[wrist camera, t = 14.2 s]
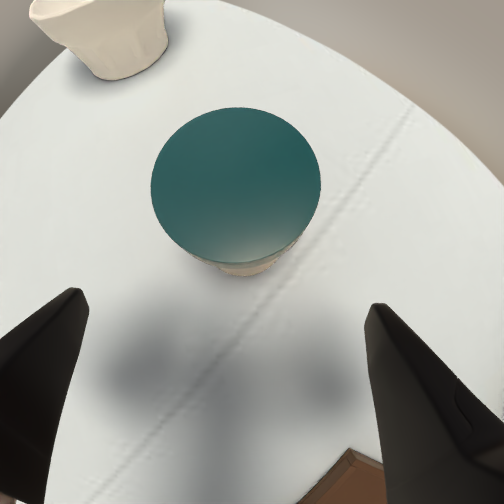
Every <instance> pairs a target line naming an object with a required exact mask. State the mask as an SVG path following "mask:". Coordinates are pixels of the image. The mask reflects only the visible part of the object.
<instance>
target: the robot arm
mask: <svg viewBox="0 0 504 504" xmlns="http://www.w3.org/2000/svg"><path fill="white" fill-rule="evenodd" d="M88 316H89V306H88V303H87V301H86V298H85V296H84V294H83V291H82V290H81V289H80V288H73V287H71V288H68V289H67V290H65V291H64V292H62V293H61V294H60V295H58V296H57V297H55V298H54V299H53V300H51V301H50V302H48V303H47V304H46V305H44V306H43V307H42V308H40V309H39V310H38V311H36V312H35V313H33V314H32V315H31V316H29V317H28V318H27V319H25V320H24V321H23V322H21V323H20V324H19V325H18V326H16V327H15V328H14V329H12V330H11V331H10V332H8V333H7V334H6V335H5V336H3V337H2V338H1V339H0V504H16V500H19V501H22V502H24V503H26V504H44V498H45V491H46V485H47V479H48V473H49V468H50V462H51V457H52V452H53V447H54V442H55V438H56V434H57V429H58V425H59V421H60V417H61V413H62V410H63V406H64V402H65V399H66V395H67V392H68V388H69V385H70V381H71V378H72V375H73V372H74V368H75V365H76V362H77V359H78V356H79V352H80V349H81V344H82V340H83V336H84V332H85V328H86V324H87V320H88ZM364 331H365V341H366V351H367V363H368V373H369V379H370V384H371V390H372V395H373V401H374V406H375V412H376V418H377V425H378V431H379V438H380V445H381V452H382V460H383V468H384V477H385V486H386V498H387V504H504V423H503V422H502V421H501V420H500V419H499V418H498V417H497V416H496V415H495V414H494V413H492V412H491V411H490V410H489V409H488V408H487V407H486V406H485V405H484V404H483V403H482V402H481V401H480V400H479V399H478V398H477V397H476V396H475V395H474V394H473V393H472V392H471V391H470V390H469V389H468V388H467V387H466V386H465V385H464V384H463V383H462V381H461V380H460V379H459V378H457V376H456V375H455V374H454V373H453V372H452V371H451V370H450V369H449V368H448V366H447V365H446V364H445V363H444V362H443V361H442V360H441V359H440V358H439V357H438V356H437V355H436V354H435V353H434V352H433V351H432V350H431V349H430V348H429V347H428V345H427V344H426V343H425V342H424V341H423V340H422V339H421V338H420V337H419V336H418V335H417V334H416V333H415V332H414V331H413V330H412V329H411V328H410V327H409V326H408V325H407V324H406V323H405V322H404V321H403V320H402V319H401V318H400V317H399V316H398V315H397V314H396V313H395V312H394V311H393V310H392V309H391V308H390V307H389V306H388V305H387V304H385V303H374V304H372V305H371V307H370V310H369V313H368V315H367V318H366V321H365V325H364Z"/></svg>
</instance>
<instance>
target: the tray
mask: <svg viewBox="0 0 504 504" xmlns="http://www.w3.org/2000/svg"><path fill="white" fill-rule="evenodd" d="M297 504H387V498H386V486H385V477H384V468H383V464H381V463H379V462H377V461H375V460H373V459H370V458H368V457H366V456H364V455H362V454H360V453H358V452H356V451H354V450H352V449H350V448H349V449H348V450H347V451H346V453H345V454H344V455H343V456H342V457H341V458H340V459H339V461H338V462H337V463H336V464H335V465H334V466H333V467H332V469H331V470H330V471H329V472H328V473H327V474H326V475H325V476H324V477H323V478H322V479H321V480H320V481H319V482H318V484H317V485H316V486H315V487H314V488H313V489H312V490H311V491H310V492H309V493H308V494H307V495H306V496H305V497H304V498H303V499H302V500H301V501H300V502H298V503H297Z"/></svg>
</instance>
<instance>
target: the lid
mask: <svg viewBox="0 0 504 504" xmlns="http://www.w3.org/2000/svg"><path fill="white" fill-rule="evenodd" d="M320 191H321V178H320V171H319V166H318V162H317V159H316V157H315V154H314V152H313V150H312V148H311V146H310V145H309V144H308V142H307V141H306V139H305V138H304V137H303V136H302V135H301V134H300V132H299V131H298V130H296V129H295V128H294V127H293V126H292V125H291V124H289V123H288V122H286V121H285V120H283V119H281V118H279V117H277V116H275V115H273V114H271V113H268V112H265V111H261V110H257V109H252V108H224V109H219V110H215V111H211V112H208V113H205V114H203V115H201V116H198V117H196V118H194V119H193V120H191V121H189V122H188V123H186V124H185V125H183V126H182V127H181V128H180V129H178V130H177V131H176V132H175V133H174V134H173V135H172V136H171V137H170V139H169V140H168V141H167V142H166V144H165V145H164V146H163V148H162V150H161V151H160V153H159V155H158V157H157V160H156V162H155V165H154V169H153V172H152V178H151V198H152V204H153V208H154V211H155V214H156V216H157V218H158V221H159V223H160V224H161V226H162V227H163V229H164V230H165V232H166V233H167V234H168V235H169V236H170V238H171V239H172V240H173V241H174V242H176V243H177V244H178V245H179V246H180V247H181V248H183V249H184V250H185V251H186V252H188V253H189V254H190V255H192V256H193V257H195V258H196V259H198V260H200V261H202V262H204V263H206V264H209V265H212V266H215V267H220V268H226V269H246V268H252V267H256V266H260V265H263V264H266V263H268V262H271V261H272V260H274V259H276V258H278V257H280V256H281V255H282V254H284V253H285V252H286V251H288V250H289V249H290V248H291V247H292V246H293V245H294V244H295V243H296V242H297V240H298V239H299V238H300V237H301V235H302V234H303V232H304V230H305V229H306V227H307V226H308V224H309V222H310V221H311V219H312V217H313V215H314V213H315V210H316V208H317V205H318V201H319V197H320Z"/></svg>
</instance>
